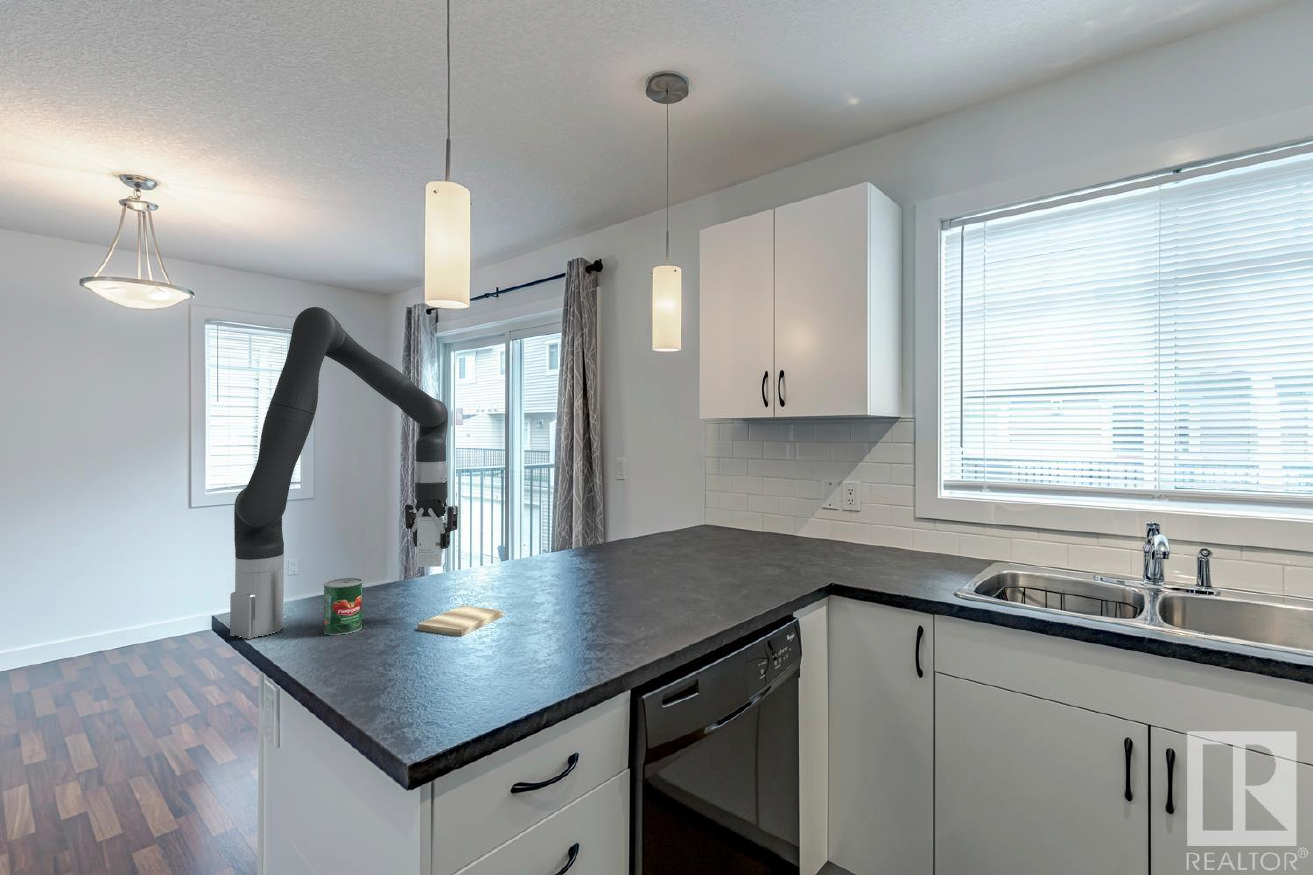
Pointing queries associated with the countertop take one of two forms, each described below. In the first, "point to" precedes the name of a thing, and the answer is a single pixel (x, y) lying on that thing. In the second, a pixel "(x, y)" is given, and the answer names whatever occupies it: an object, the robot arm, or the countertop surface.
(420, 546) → the skincare box
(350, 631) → the canned tomato
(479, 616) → the birch board
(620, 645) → the countertop surface
